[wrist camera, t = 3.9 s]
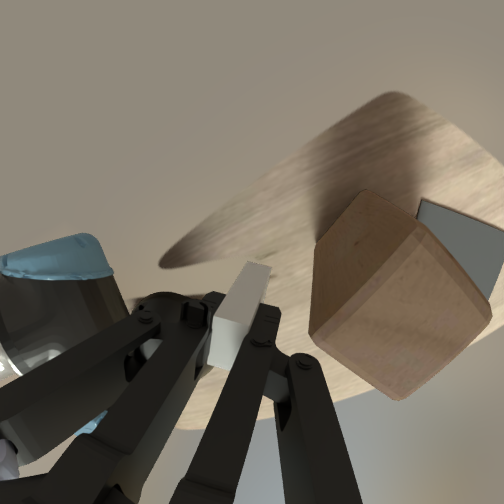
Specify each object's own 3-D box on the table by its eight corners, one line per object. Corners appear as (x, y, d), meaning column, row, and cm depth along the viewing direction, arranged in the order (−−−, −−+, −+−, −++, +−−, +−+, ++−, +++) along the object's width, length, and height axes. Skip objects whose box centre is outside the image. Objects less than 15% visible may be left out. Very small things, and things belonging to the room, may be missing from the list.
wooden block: (363, 185, 32) (420, 217, 13) (420, 239, 32) (501, 317, 14) (311, 247, 36) (300, 341, 17) (368, 295, 36) (398, 409, 17)
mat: (393, 288, 35) (393, 289, 35) (421, 200, 31) (422, 200, 31) (482, 309, 33) (483, 310, 33) (511, 235, 29) (512, 235, 29)
